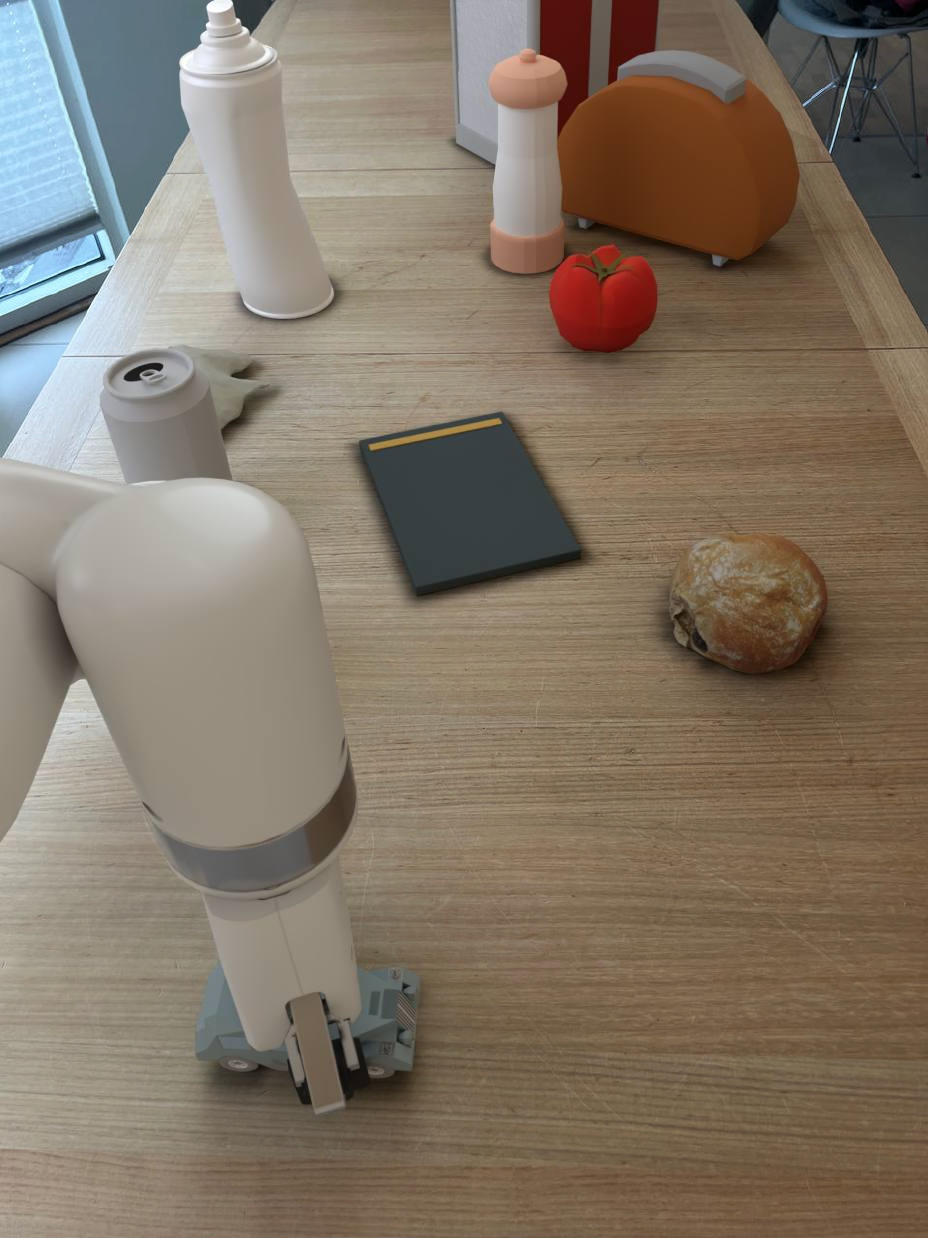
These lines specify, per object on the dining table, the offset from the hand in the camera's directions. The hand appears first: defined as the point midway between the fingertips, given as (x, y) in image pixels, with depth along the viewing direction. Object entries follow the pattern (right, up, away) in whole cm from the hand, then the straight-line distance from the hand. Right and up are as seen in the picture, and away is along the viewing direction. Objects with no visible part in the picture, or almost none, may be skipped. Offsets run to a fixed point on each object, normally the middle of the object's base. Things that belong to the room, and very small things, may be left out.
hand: (318, 1003), depth 52 cm
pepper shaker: (+13, +55, +56) cm, 79 cm away
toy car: (0, -1, +1) cm, 1 cm away
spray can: (-11, +50, +53) cm, 74 cm away
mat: (+7, +28, +29) cm, 40 cm away
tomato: (+19, +44, +44) cm, 65 cm away
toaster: (+28, +58, +58) cm, 87 cm away
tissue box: (+18, +75, +75) cm, 108 cm away
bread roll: (+26, +19, +19) cm, 37 cm away
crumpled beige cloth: (-16, +36, +39) cm, 55 cm away
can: (-14, +27, +29) cm, 42 cm away
